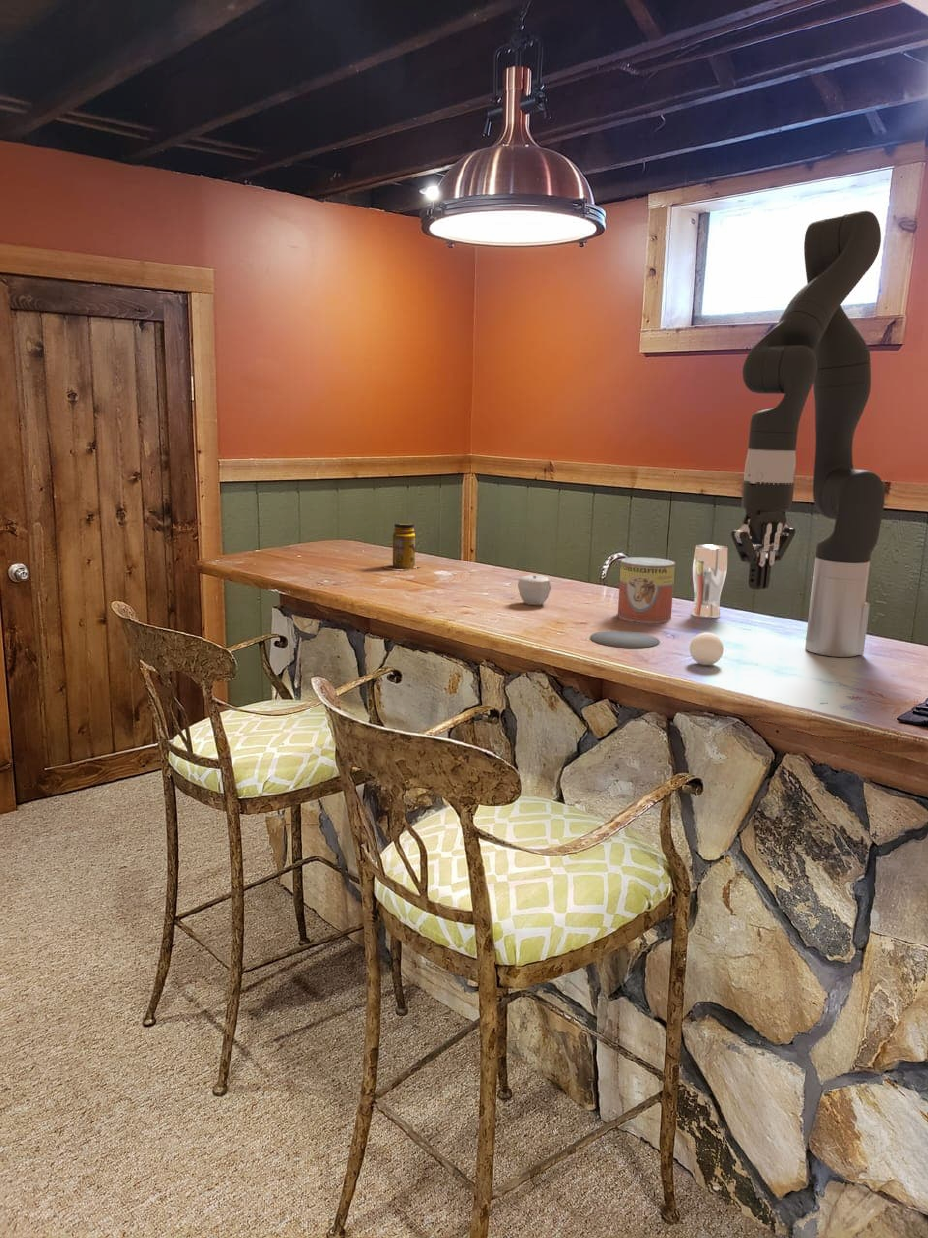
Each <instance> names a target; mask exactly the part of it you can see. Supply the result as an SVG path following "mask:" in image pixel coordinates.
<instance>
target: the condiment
mask: <svg viewBox="0 0 928 1238" xmlns="http://www.w3.org/2000/svg"><path fill="white" fill-rule="evenodd" d="M393 530H394V532H393V533H392V564H390V565H389V564H388V565H381V566H380V567H382V568H385V569H387V570H393V571H403V570H412V569H411V568H414V567H415V564H416V563H415V562H416V534H415V525H414V523H412V522H395V523H394V529H393Z"/></svg>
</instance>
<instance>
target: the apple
mask: <svg viewBox="0 0 928 1238" xmlns="http://www.w3.org/2000/svg"><path fill="white" fill-rule="evenodd" d="M517 587H518V591H519V595H520V598H521V599H522V601H523V603H524V604H525V605H528V606H541V605H543V604H545V602H546V601H547V600H548V598H549V596H550V593H551V591H552V590H551V589H552V585H551V581H550V579H549V577H548V576H544V575H539V574H538V575H537V574H530V575H524V576H520V577H519V579H518V582H517Z"/></svg>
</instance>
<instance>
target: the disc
mask: <svg viewBox="0 0 928 1238" xmlns="http://www.w3.org/2000/svg"><path fill="white" fill-rule="evenodd" d="M589 637H590V640H591V641H592V642H594V643H596V644H598V645H602V646H606V647H607V646H608V647H610V648H611V647H612V648H620V649H647V648H653V647H657V646H658V645H660V643H661V642H660V639H659V638H658V637H656V636H654V635H651V634H647V633H643V632H635V631H629V630H627V631H626V630H604V631H598V632H595V633H592V634H591V635H590V636H589Z"/></svg>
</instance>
